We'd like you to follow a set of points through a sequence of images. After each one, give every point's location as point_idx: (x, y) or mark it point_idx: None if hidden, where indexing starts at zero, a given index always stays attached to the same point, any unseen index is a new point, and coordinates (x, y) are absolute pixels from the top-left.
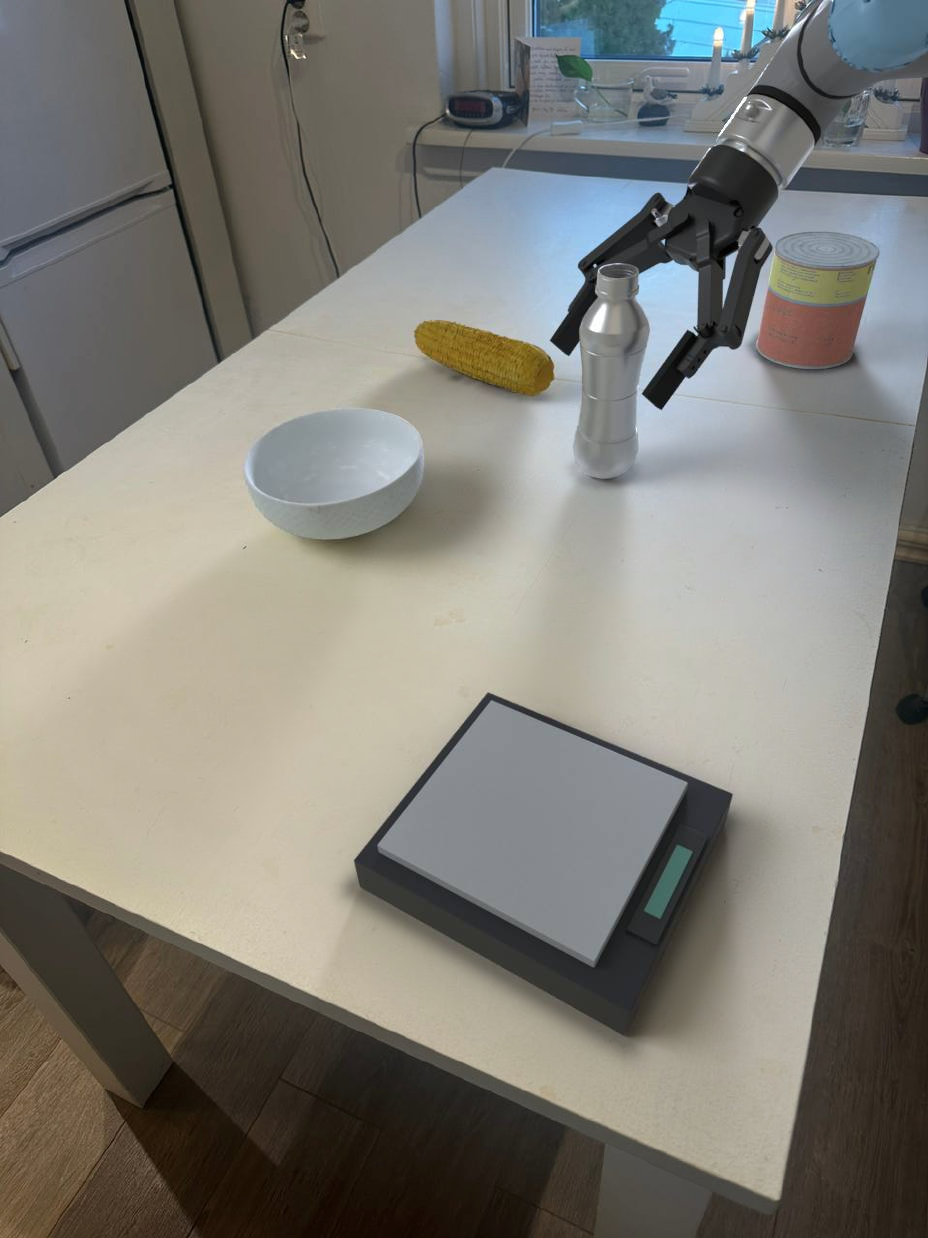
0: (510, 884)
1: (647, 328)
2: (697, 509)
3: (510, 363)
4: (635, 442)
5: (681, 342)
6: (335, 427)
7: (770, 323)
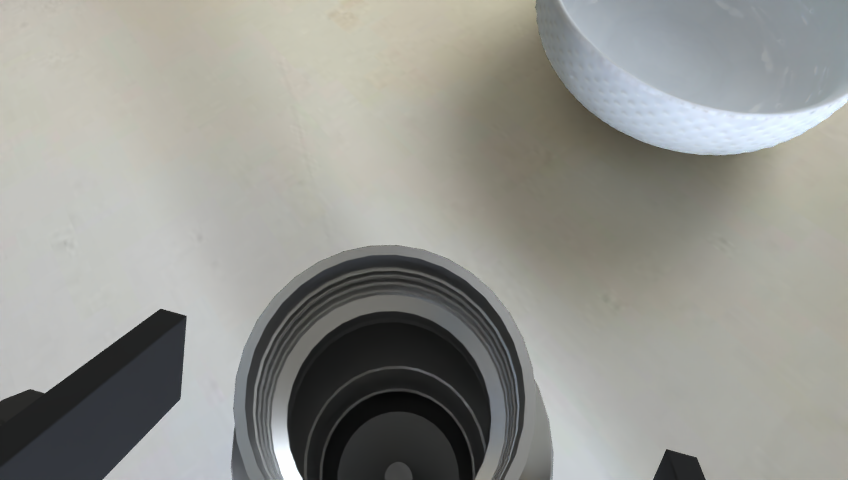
0: None
1: None
2: (136, 473)
3: None
4: None
5: (13, 437)
6: (838, 83)
7: None
